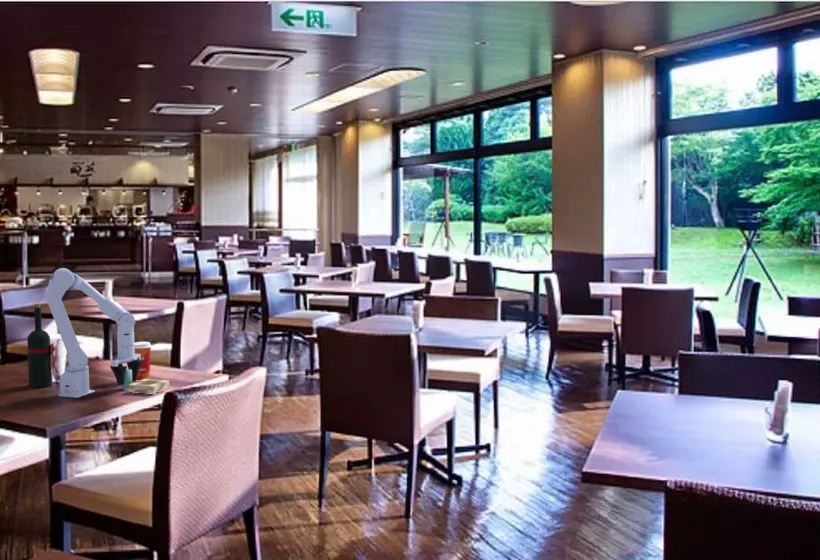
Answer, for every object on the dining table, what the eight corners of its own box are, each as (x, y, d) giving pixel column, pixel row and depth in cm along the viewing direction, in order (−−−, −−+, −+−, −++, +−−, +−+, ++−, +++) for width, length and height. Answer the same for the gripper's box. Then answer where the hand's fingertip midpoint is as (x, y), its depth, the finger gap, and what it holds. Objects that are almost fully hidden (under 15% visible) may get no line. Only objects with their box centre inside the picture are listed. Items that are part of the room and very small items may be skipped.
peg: (128, 390, 280) (128, 371, 280) (120, 390, 281) (119, 370, 281) (134, 388, 284) (133, 369, 283) (125, 387, 285) (125, 368, 284)
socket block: (153, 394, 274) (153, 386, 274) (128, 393, 277) (128, 384, 277) (169, 388, 284) (169, 380, 284) (145, 386, 286) (144, 378, 286)
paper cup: (126, 380, 297) (125, 343, 295) (142, 376, 303) (141, 340, 302) (141, 382, 293) (140, 345, 292) (157, 378, 300) (156, 342, 298)
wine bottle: (56, 387, 284) (53, 305, 281) (26, 388, 282) (22, 305, 279) (61, 382, 292) (58, 302, 289) (31, 384, 290) (28, 303, 287)
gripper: (123, 349, 273) (124, 387, 274) (147, 342, 287) (148, 379, 288) (105, 348, 275) (107, 386, 276) (130, 341, 289) (131, 377, 290)
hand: (127, 382), depth 282 cm, fingers open, 7 cm apart
